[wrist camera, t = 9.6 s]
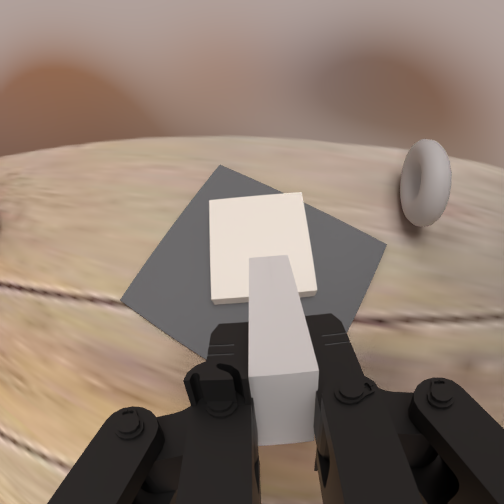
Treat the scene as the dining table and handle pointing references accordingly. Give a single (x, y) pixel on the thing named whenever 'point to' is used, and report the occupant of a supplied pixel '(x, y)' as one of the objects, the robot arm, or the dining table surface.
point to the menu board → (257, 242)
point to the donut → (425, 182)
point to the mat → (199, 277)
